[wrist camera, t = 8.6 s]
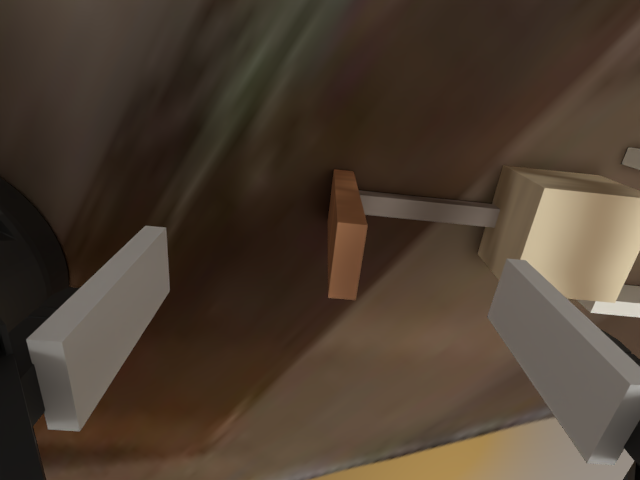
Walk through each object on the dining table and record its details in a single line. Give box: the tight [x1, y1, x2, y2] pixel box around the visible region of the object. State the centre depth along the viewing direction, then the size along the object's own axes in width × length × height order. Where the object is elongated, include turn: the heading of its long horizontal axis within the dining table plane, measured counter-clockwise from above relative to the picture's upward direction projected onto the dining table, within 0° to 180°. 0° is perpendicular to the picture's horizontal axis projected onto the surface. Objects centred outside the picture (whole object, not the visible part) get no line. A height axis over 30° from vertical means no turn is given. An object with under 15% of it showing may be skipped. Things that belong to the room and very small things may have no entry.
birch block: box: [328, 165, 640, 303], centre depth 21 cm, size 16×6×9 cm, turn 84°
